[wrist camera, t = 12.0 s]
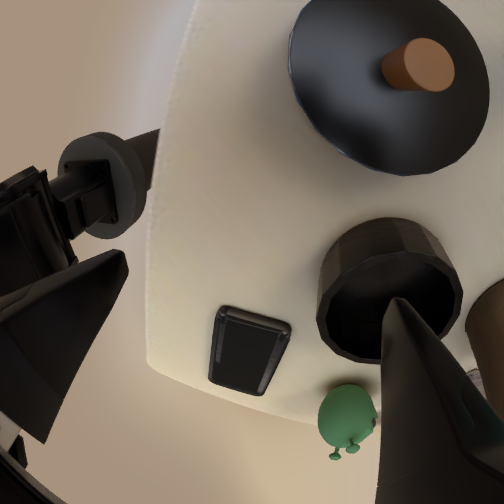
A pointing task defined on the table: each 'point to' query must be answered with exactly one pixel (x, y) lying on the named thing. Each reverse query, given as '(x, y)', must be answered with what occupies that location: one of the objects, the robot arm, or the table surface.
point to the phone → (246, 350)
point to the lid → (390, 81)
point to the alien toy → (346, 418)
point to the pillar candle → (489, 343)
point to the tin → (383, 285)
